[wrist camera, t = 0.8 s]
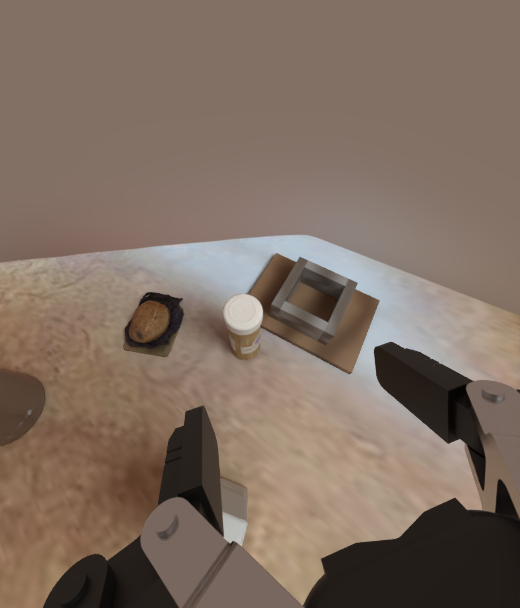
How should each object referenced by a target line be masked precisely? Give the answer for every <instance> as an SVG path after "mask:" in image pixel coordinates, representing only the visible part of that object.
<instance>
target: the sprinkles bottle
mask: <svg viewBox="0 0 520 608" xmlns="http://www.w3.org/2000/svg"><path fill="white" fill-rule="evenodd" d="M223 318H224V323H225V325H226V327H227V330H228V335H229V339H230V343H231V346H232V351H233V353H234V354H235V356H236V357H238V358H239V359H242V360H248V359H252V358H253V357H255V356H256V355H257V354H258V352H259V349H260V335H261V330H260V329H261V323H262V319H263V309H262V305H261V303H260V302H259V301H258V300H257V299H256V298H255V297H253V296H251V295H247V294H239V295H235V296H233V297H231V298H230V299H229V300H228V301H227V302H226V304H225V305H224V308H223Z"/></svg>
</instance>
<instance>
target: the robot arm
mask: <svg viewBox="0 0 520 608" xmlns="http://www.w3.org/2000/svg"><path fill="white" fill-rule="evenodd" d="M374 357H375V366H376V375H377V379H378V381H379V383H380V385H381V386H382V387H383V389H385V390H386V391H387V392H388V393H389V394H390V395H392V396H393V397H394V398H395V399H396V400H397V401H399V402H400V403H401V404H402V405H403V406H404V407H406V408H407V409H408V410H409V411H410V412H411V413H413V414H414V415H415V416H416V417H417V418H418V419H420V420H421V421H422V422H423V423H424V424H426V425H427V426H428V427H429V428H430V429H431V430H433V431H434V432H435V433H436V434H437V435H438V436H440V437H441V438H442V439H443V440H444V441H445V442H447V443H448V444H449V443H451V442H454V441H456V440H458V439H461V440H462V441H463V442H465V452H466V455H467V458H468V461H469V464H470V468H471V471H472V474H473V477H474V480H475V483H476V487H477V490H478V493H479V496H480V500H481V504H482V510H483V511H482V510H466V509H465V507H464V506H463V505H462V504H461V503H460V502H459V501H458V500H457V499H456V498H453V499H451V500H449V501H447V502H444V503H442V504H440V505H438V506H436V507H434V508H431V509H429V510H427V511H425V512H423V514H422V515H421V516H420V517H419V518H418V519H417V520H416V521H415V522H414V523H413V524H412V525H411V526H410V527H409V528H408V529H407V530H406V531H405V532H404V533H403V534H402V536H400V537H399V538H397V539H391V540H381V541H371V542H360V543H355V544H353V545H350V546H348V547H346V548H344V549H342V550H339V551H337V552H335V553H333V554H331V555H328V556H326V557H324V558H322V559H321V561H322V565H323V569H324V573H325V574H324V575H323V576H322V577H321V578H320V579H319V580H318V581H317V583H316V584H315V585H314V587H313V588H312V590H311V591H310V593H309V595H308V597H307V599H306V600H305V603H304V605H303V606H302V605H301V604H300V603H299V602H298V601H297V600H296V599H295V598H294V597H293V596H292V595H291V594H290V593H289V592H288V591H287V590H286V589H285V588H284V587H283V586H282V585H281V584H280V583H279V582H278V581H277V580H276V579H275V578H274V577H273V576H271V575H270V574H269V573H268V572H267V571H266V570H265V569H264V568H263V567H262V566H261V565H260V564H259V563H258V562H257V561H256V560H255V559H254V558H253V557H252V556H251V555H250V554H249V553H248V552H247V551H246V550H245V549H244V548H243V547H242V546H241V545H239V544H238V543H237V542H235V541H232V542H231V543H229V542H228V541H227V540H225V539H224V538H223V537H224V528H223V513H222V499H221V484H220V470H219V455H218V445H217V440H216V436H215V433H214V430H213V428H212V425H211V422H210V419H209V417H208V414H207V411H206V409H205V407H204V406H200V407H198V408H195V409H192V410H189V411H186V413H185V421H184V426H182V427H179V428H176V429H175V430H174V432H173V434H172V436H171V437H170V439H169V441H168V447H167V455H166V459H165V465H164V471H163V477H162V483H161V489H160V495H159V501H158V506H157V508H156V509H155V510H154V511H153V512H152V513H151V514H150V516H149V517H148V519H147V520H146V522H145V524H144V526H143V529H142V532H141V535H140V536H139V537H138V538H137V539H136V540H134V541H133V542H132V543H131V544H129V545H128V546H127V547H125V548H124V549H123V550H121V551H120V552H118V553H117V554H116V555H114V556H113V557H112V558H110V559H109V560H108V561H107V560H106V559H105V558H104V557H103V556H102V555H99V554H93V555H89V556H87V557H85V558H83V559H81V560H80V561H78V562H77V563H75V564H74V565H73V566H72V567H71V568H70V569H69V570H68V571H67V572H66V573H65V574H64V575H63V576H62V577H61V578H60V579H59V581H58V582H57V583H56V585H55V586H54V588H53V589H52V591H51V592H50V594H49V596H48V598H47V599H46V602H45V604H44V606H43V608H520V390H515V389H513V388H512V387H510V386H508V385H505V384H502V383H499V382H495V381H489V380H478V381H472V380H470V379H468V378H467V377H465V376H463V375H461V374H459V373H457V372H456V371H454V370H452V369H450V368H448V367H446V366H444V365H443V364H439V362H437V361H435V360H433V359H430V357H428V356H426V355H424V354H422V353H421V352H418V351H414V350H411V349H407V348H406V349H404V348H402V347H401V346H399V345H397V344H395V343H393V342H389V343H386V344H383V345H380V346H377V347H375V348H374ZM44 400H45V394H44V389H43V386H42V384H41V383H40V382H39V381H38V380H37V379H35V378H34V377H31V376H28V375H24V374H20V373H16V372H12V371H8V370H4V369H0V446H2V445H5V444H8V443H11V442H13V441H14V440H16V439H18V438H19V437H21V436H22V435H23V434H25V433H26V432H27V431H28V430H29V429H30V428H31V427H32V426H33V424H34V423H35V422H36V420H37V419H38V417H39V415H40V413H41V411H42V408H43V405H44Z"/></svg>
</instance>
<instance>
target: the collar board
mask: <svg viewBox="0 0 520 608" xmlns="http://www.w3.org/2000/svg"><path fill="white" fill-rule="evenodd" d="M357 284H358V283H357V282H354V281H352V280H350V279H348V278H346V277H343V276H341V275H339V274H337V273H335V272H332V271H330V270H328V269H326V268H323V267H321V266H319V265H317V264H315V263H312V262H310V261H308V260H306V259H304V258H301V257H300V258H299V259H298V261H297V262H295V261H292V260H290V259H288V258H286V257H284V256H281V255H279V254H277V253H276V254H275V256H274V257H273V259H272V260H271V262H270V263H269V265H268V266H267V268H266V269H265V271H264V272H263V274H262V275H261V277H260V278H259V280H258V281H257V283H256V284H255V286H254V287H253V289H252V290H251V292H250V294H249V295H251V296H253V297H255V298H256V299H257V300H258V301H259V302H260V303H261V305H262V309H263V319H262V323H261V328H263V329H265V330H267V331H269V332H271V333H273V334H275V335H277V336H278V337H280V338H282V339H284V340H286V341H288V342H290V343H292V344H293V345H295V346H297V347H299V348H301V349H303V350H305V351H307V352H309V353H310V354H312V355H314V356H316V357H318V358H320V359H322V360H324V361H325V362H327V363H329V364H331V365H333V366H335V367H337V368H339V369H341V370H342V371H344V372H346V373H348V374H351V373H352V371H353V368H354V366H355V363H356V361H357V358H358V355H359V353H360V350H361V348H362V345H363V342H364V340H365V337H366V335H367V332H368V329H369V327H370V324H371V322H372V319H373V316H374V314H375V311H376V309H377V306H378V303H379V301H380V300H377V299H375V298H373V297H371V296H369V295H366V294H364V293H362V292H360V291H358V290H356V289H355V288H356V286H357Z"/></svg>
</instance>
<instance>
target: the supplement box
mask: <svg viewBox="0 0 520 608" xmlns="http://www.w3.org/2000/svg"><path fill="white" fill-rule="evenodd" d="M220 484H221V499H222V513H223V528H224V537H223V538H224V539H225V540H227V541H228V542H229V543H231V542H232V541H235V542H237V543H238V544H239V545H241V546H242V543H243V539H244V536H245V532H246V529H247V525H248V523H247V506H248V489H247V488H245V487H243V486H241V485H238V484H236V483H233V482H231V481H228V480H225V479H223V478H220Z"/></svg>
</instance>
